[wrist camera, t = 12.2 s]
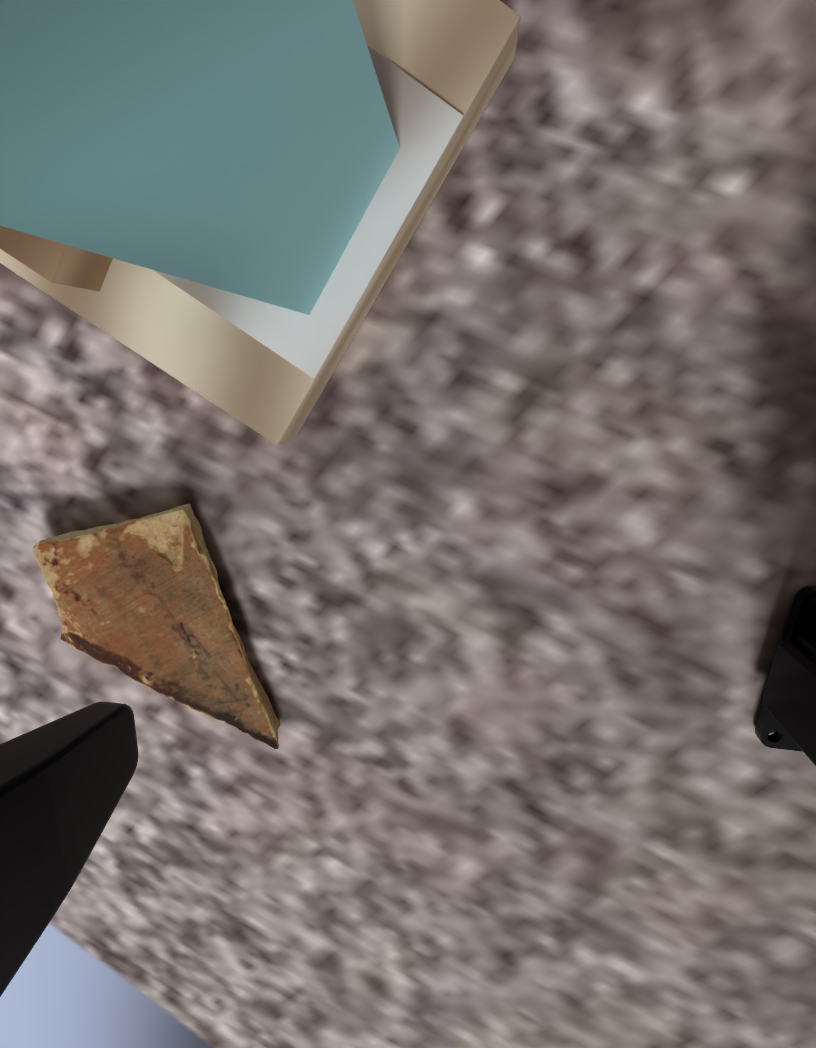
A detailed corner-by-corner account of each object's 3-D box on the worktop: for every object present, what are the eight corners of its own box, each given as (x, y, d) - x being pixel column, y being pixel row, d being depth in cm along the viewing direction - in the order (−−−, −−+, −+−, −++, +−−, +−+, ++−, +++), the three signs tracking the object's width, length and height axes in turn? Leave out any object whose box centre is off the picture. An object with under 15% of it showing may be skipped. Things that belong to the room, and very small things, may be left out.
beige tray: (513, 59, 15) (529, -42, 11) (296, 437, 19) (253, 455, 15) (-191, -472, 14) (-449, -799, 10) (-271, 61, 17) (-477, -23, 14)
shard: (290, 726, 24) (276, 755, 22) (139, 749, 25) (115, 778, 23) (206, 495, 21) (182, 507, 19) (41, 534, 22) (5, 549, 20)
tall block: (399, 148, 14) (-27, -1201, 2) (309, 315, 16) (-257, 150, 3) (241, 33, 14) (-1536, -2546, 2) (164, 215, 15) (-1052, -367, 3)
